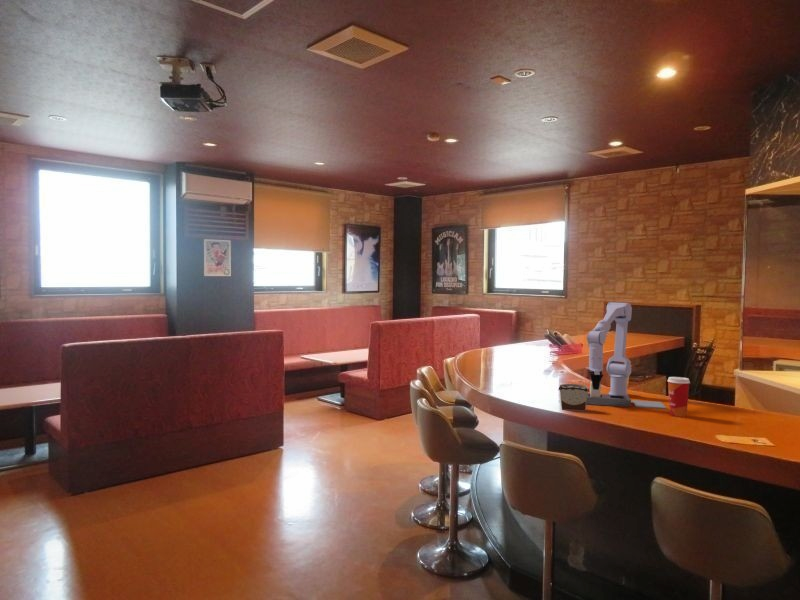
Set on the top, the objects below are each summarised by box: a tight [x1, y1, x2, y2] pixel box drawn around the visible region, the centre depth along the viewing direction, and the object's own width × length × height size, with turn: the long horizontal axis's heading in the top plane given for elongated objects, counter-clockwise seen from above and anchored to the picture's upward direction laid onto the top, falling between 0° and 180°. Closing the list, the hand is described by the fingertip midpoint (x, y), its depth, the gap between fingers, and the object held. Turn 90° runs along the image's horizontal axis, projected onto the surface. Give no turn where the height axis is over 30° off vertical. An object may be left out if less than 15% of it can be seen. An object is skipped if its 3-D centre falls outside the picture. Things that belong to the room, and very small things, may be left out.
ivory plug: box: [589, 380, 602, 397], centre depth 240 cm, size 4×4×7 cm
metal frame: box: [586, 392, 632, 408], centre depth 239 cm, size 10×20×3 cm, turn 75°
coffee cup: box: [666, 376, 691, 418], centre depth 216 cm, size 8×8×15 cm
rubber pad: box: [631, 399, 668, 410], centre depth 235 cm, size 12×12×1 cm
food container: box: [558, 383, 590, 412], centre depth 227 cm, size 12×6×10 cm, turn 74°
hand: (595, 388), depth 240 cm, fingers closed on ivory plug, 4 cm apart
